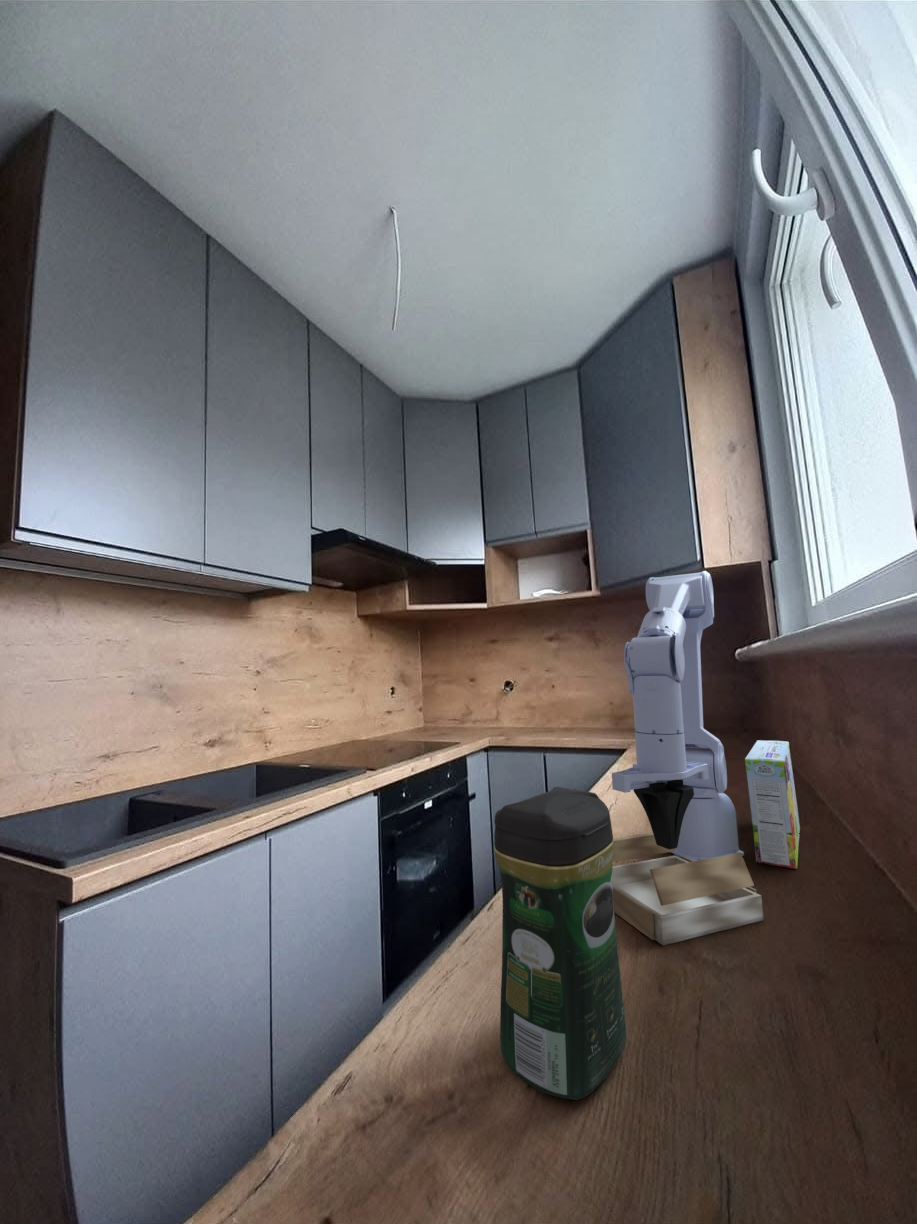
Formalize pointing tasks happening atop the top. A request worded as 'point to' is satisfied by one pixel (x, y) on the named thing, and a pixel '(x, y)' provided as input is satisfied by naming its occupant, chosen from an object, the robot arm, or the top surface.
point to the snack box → (773, 803)
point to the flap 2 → (700, 878)
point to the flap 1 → (636, 847)
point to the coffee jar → (559, 942)
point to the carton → (678, 905)
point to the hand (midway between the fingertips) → (666, 846)
